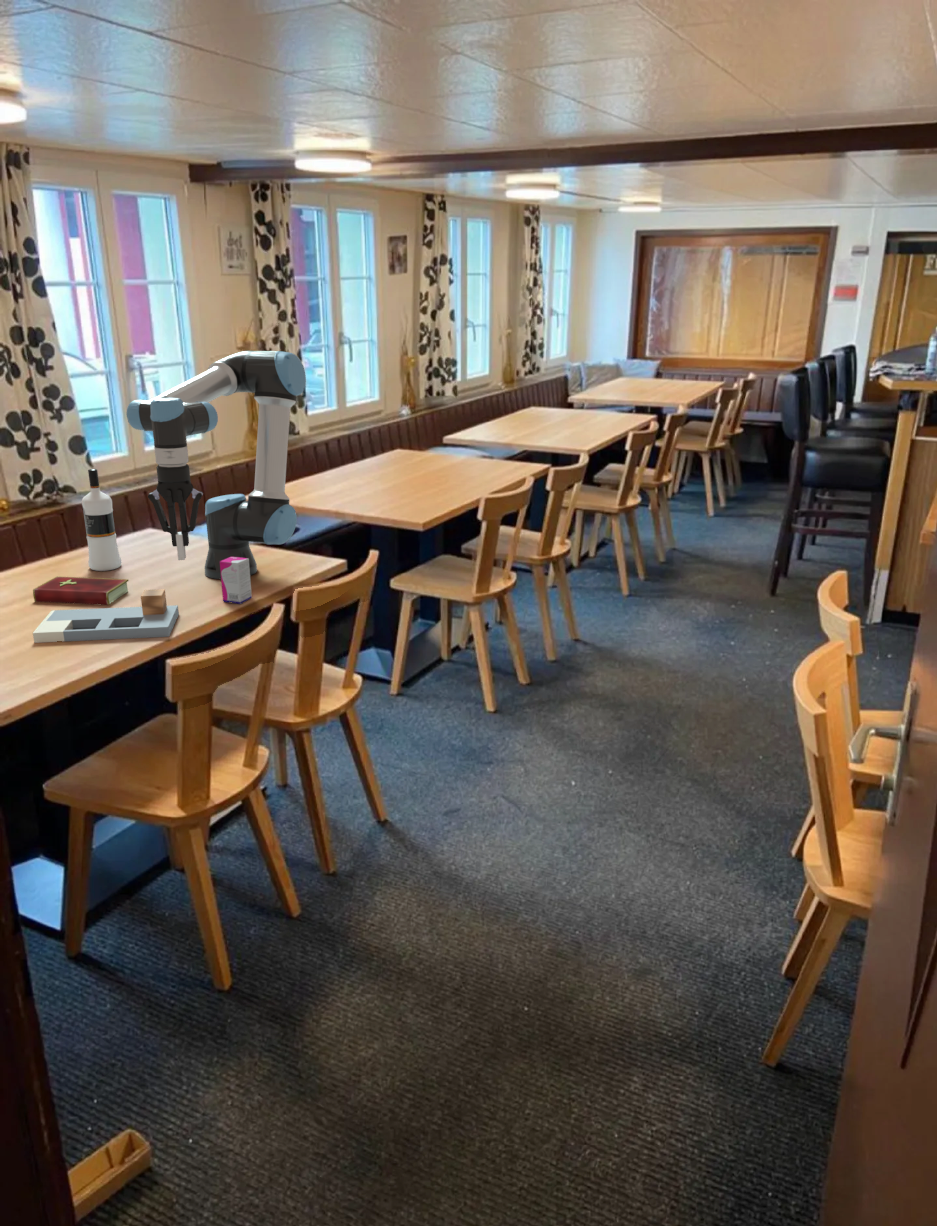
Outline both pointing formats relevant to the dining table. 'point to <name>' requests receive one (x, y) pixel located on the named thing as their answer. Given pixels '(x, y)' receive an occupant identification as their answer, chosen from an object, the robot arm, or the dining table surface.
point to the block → (153, 602)
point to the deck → (104, 624)
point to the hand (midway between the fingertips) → (182, 558)
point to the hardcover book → (80, 590)
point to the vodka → (100, 527)
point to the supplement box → (235, 580)
